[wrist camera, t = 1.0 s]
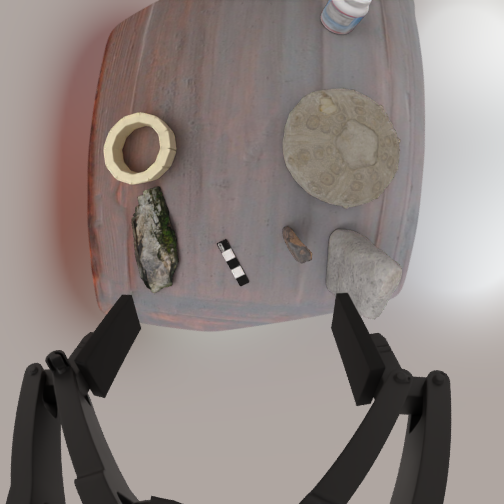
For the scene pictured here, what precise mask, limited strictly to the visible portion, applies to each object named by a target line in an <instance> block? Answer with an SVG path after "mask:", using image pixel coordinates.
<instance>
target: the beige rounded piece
mask: <svg viewBox="0 0 504 504" xmlns="http://www.w3.org/2000/svg"><path fill="white" fill-rule="evenodd" d="M284 133H285V134H284V138H283V154H284V160H285V163H286V167H287V169H288V170H289V171H290V172H291V174H292V176H293V178H294V179H295V181H296V182H297V183H298V184H299V185H300V186H301V187H303V189H304V190H305V191H306V192H307V193H309V194H310V195H312V196H314V197H315V198H318V199H320V200H321V201H324V202H327V203H329V204H334V205H336V206H343V207H344V208H345V209H347V208H348V207H353V206H358V205H361V204H366V203H369V202H371V201H373V200H374V199H378V197H379V196H380V195H381V194H382V193H383V192H384V189H385V188H387V186H388V185H389V184H390V182H391V181H392V180H393V178H394V176H395V173H396V172H397V170H398V163H399V152H400V149H399V142H400V139H399V138H398V137H397V133H396V131H395V130H394V129H393V125H392V123H391V122H390V121H389V118H388V116H387V114H386V113H385V112H384V109H383V106H382V105H378V104H377V103H375V102H374V101H373V100H372V99H370V98H369V97H367V96H365V95H363V94H361V93H359V92H356V91H355V90H349V89H344V88H343V89H329V90H320V91H317V92H312V93H311V94H308V95H306V96H305V97H303V98H302V99H301V101H300V102H299V103H298V104H297V105H296V107H295V108H294V109H293V110H292V112H290V113H289V117H288V119H287V122H286V125H285V129H284Z"/></svg>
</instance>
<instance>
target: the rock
mask: <svg viewBox="0 0 504 504" xmlns="http://www.w3.org/2000/svg"><path fill="white" fill-rule="evenodd" d="M143 194H144V195H141V196H138V197H137V198H138V202H139V205H138V206H137V207H135V213H134V214H133V216H134V217H132V228H133V237H134V247H135V256H136V261H137V265H138V269H139V273H140V277H141V279H142V280H143V281H144V283H145V285H146V287H147V288H149V289H150V290H151V291H152V292H153V293H156V292H158V291H160V289H162V288H164V287H169V286H172V276H173V274H174V272H175V269H176V267H177V264H178V255H177V248H176V242H177V239H176V236H175V232H174V230H173V228H172V226H171V225H170V222H169V221H170V220H169V217H168V215H169V211H168V208H167V206H166V203H165V200H164V197H163V196H162V192H161V191H160V187H155V188H152V189H148V190H145V191H143Z"/></svg>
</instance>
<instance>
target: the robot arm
mask: <svg viewBox="0 0 504 504" xmlns="http://www.w3.org/2000/svg"><path fill="white" fill-rule="evenodd" d="M331 329H332V332H333V335H334V338H335V341H336V343H337V347H338V350H339V352H340V355H341V358H342V361H343V364H344V367H345V371H346V374H347V377H348V380H349V383H350V386H351V389H352V393H353V395H354V399H355V402H356V406H360V405H365V404H371V401H372V399H373V397H374V399H375V401H374V403H373V404H372V406H371V408H370V410H369V411H368V413H367V415H366V416H365V418H364V420H363V421H362V423H361V424H360V426H359V428H358V429H357V431H356V432H355V434H354V435H353V437H352V438H351V440H350V442H349V443H348V444H347V446H346V447H345V449H344V450H343V452H342V453H341V454H340V456H339V457H338V458H337V460H336V461H335V462H334V464H333V465H332V466H331V468H330V469H329V470H328V472H327V473H326V474H325V475H324V477H323V478H322V479H321V480H320V482H319V483H318V484H317V485H316V486H315V488H314V489H313V490H312V491H311V492H310V493H309V494H308V495H307V496H306V497H305V498H304V499H303V500H302V501H301V502H300V503H299V504H347V502H348V501H349V500H350V498H351V497H352V495H353V494H354V493H355V491H356V490H357V488H358V487H359V485H360V484H361V482H362V481H363V479H364V478H365V476H366V475H367V473H368V471H369V470H370V468H371V467H372V465H373V463H374V461H375V460H376V458H377V456H378V455H379V453H380V451H381V449H382V448H383V445H384V444H385V442H386V440H387V438H388V436H389V434H390V432H391V430H392V428H393V426H394V424H395V422H396V420H397V418H398V416H399V414H407V415H409V416H408V423H407V430H406V436H405V442H404V448H403V453H402V458H401V463H400V467H399V472H398V476H397V480H396V484H395V488H394V491H393V495H392V498H391V502H390V504H443V501H444V496H445V490H446V483H447V476H448V468H449V457H450V443H451V391H450V380H449V377H448V376H447V374H445V373H444V372H442V371H438V370H436V371H432V372H430V373H429V374H428V376H427V377H426V378H425V377H413V376H412V374H411V373H410V372H409V371H407V370H405V369H402V368H401V367H400V365H399V363H398V361H397V359H396V357H395V355H394V353H393V351H391V348H390V346H389V344H388V342H387V341H386V339H385V338H384V337H383V336H382V335H381V334H379V333H374V334H369V332H368V330H367V328H366V326H365V324H364V322H363V320H362V318H361V316H360V314H359V313H358V311H357V309H356V307H355V305H354V303H353V301H352V299H351V298H350V296H349V294H348V293H336V299H335V306H334V313H333V320H332V327H331ZM140 330H141V326H140V323H139V319H138V316H137V313H136V309H135V305H134V302H133V298H132V295H121V297H120V298H119V299H118V301H117V302H116V303H115V304H114V306H113V307H112V308H111V310H110V311H109V312H108V314H107V315H106V316H105V318H104V319H103V320H102V322H101V323H100V324H99V326H98V327H97V328H96V330H95V331H94V333H93V332H90V333H89V334H87V335H86V336H85V337H84V338H83V339H82V340H81V342H80V343H79V345H78V346H77V348H76V349H75V350H74V352H73V353H72V354H71V356H70V357H69V359H67V357H66V355H65V353H64V352H63V351H61V350H56V351H53V352H51V353H50V354H49V355H48V356H47V357H46V360H45V361H46V363H47V365H48V367H49V368H50V369H49V370H44V369H43V368H42V366H41V364H39V363H34V364H31V365H29V366H28V367H27V369H26V371H25V374H24V378H23V382H22V387H21V392H20V396H19V401H18V407H17V412H16V419H15V426H14V434H13V443H12V456H11V487H10V490H9V494H8V497H7V501H6V504H65V495H64V487H63V477H62V463H61V425H62V429H63V433H64V436H65V440H66V444H67V447H68V451H69V454H70V457H71V460H72V463H73V466H74V469H75V472H76V474H77V479H75V481H74V483H75V486H76V489H77V491H78V494H79V496H80V499H81V501H82V503H83V504H181V503H179V502H176V501H174V500H168V499H163V498H158V497H154V496H151V500H144V501H139V500H138V499H137V498H136V497H135V495H134V494H133V493H132V492H131V490H130V489H129V487H128V485H127V483H126V481H125V480H124V478H123V476H122V474H121V472H120V470H119V468H118V466H117V464H116V462H115V460H114V458H113V456H112V453H111V451H110V449H109V447H108V444H107V442H106V440H105V438H104V435H103V432H102V430H101V427H100V425H99V422H98V419H97V417H96V415H95V411H94V408H93V406H92V402H91V399H90V397H89V395H88V391H89V389H90V390H91V391H92V393H93V394H94V395H95V396H99V397H103V398H105V397H106V395H107V393H108V390H109V389H110V386H111V385H112V383H113V381H114V378H115V377H116V375H117V372H118V370H119V369H120V367H121V365H122V363H123V361H124V359H125V357H126V355H127V353H128V352H129V350H130V348H131V346H132V344H133V342H134V340H135V339H136V337H137V335H138V333H139V331H140Z"/></svg>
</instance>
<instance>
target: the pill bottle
mask: <svg viewBox="0 0 504 504" xmlns="http://www.w3.org/2000/svg"><path fill="white" fill-rule="evenodd" d="M371 1H372V0H329V1H328V3H327V5H326V6H325V8H324V10H323V12H322V13H321V17H320V18H321V22H322V23H323V25H324V26H325V27H326V28H327V29H328V30H329V31H331V32H333V33H336V34H347V33H349V32H350V31H351V30H352V29H353V28H354V27H355V26H356V25H357V24H358V23H359V22H360V20H361V19H362V18H363V17H364V16H365V15H366V14H367V12H368V10H369V4H370V2H371Z"/></svg>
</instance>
